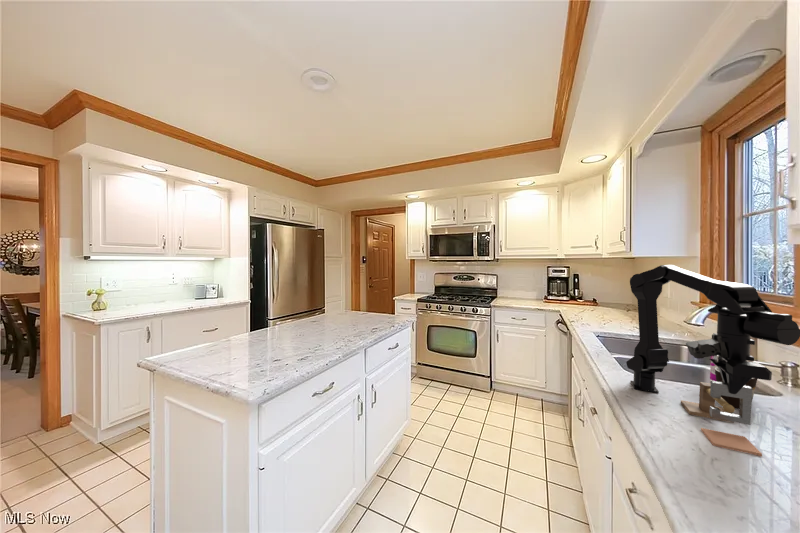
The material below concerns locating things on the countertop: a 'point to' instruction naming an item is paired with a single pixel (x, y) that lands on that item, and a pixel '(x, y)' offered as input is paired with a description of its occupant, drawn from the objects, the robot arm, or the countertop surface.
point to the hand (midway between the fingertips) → (730, 392)
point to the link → (743, 394)
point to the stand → (706, 403)
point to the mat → (731, 441)
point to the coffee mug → (732, 400)
